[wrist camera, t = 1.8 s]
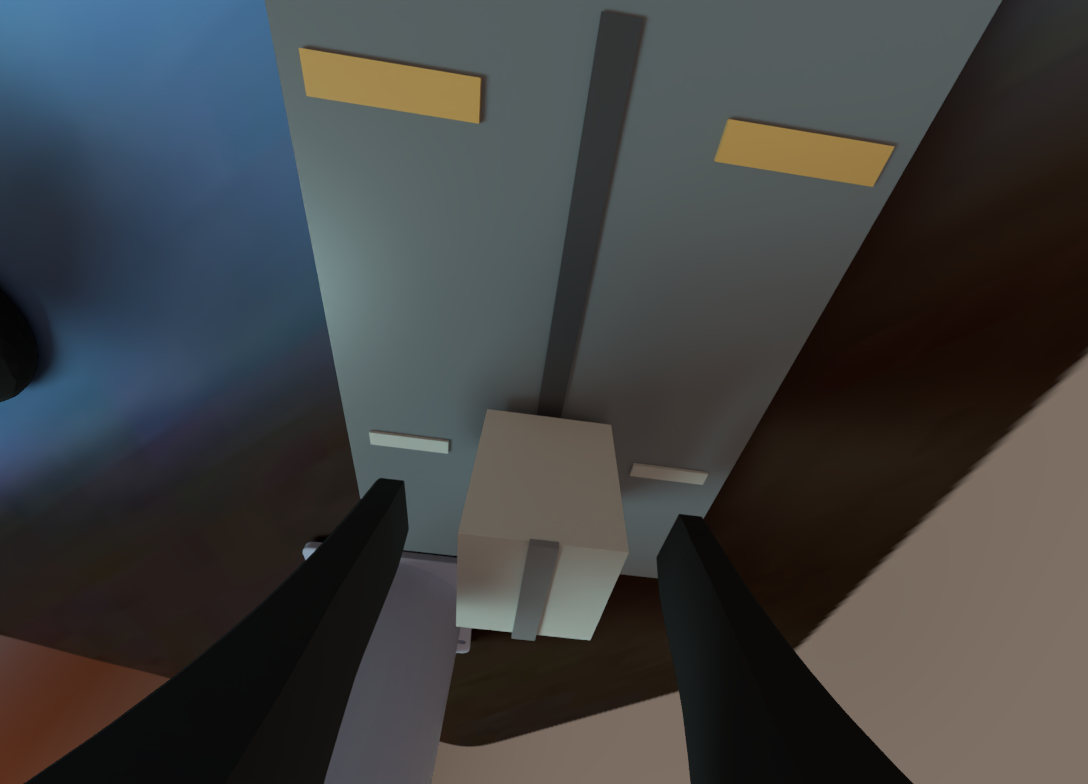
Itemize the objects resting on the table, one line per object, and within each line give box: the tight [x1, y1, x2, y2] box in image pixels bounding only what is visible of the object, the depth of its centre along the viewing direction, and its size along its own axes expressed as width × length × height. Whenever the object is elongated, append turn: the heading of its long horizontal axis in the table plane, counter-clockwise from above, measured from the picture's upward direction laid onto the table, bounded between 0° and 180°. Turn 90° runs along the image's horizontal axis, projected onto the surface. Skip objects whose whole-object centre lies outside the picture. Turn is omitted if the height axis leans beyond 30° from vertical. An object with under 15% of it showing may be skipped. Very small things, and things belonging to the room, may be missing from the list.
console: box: [265, 0, 1002, 578], centre depth 12 cm, size 18×12×2 cm, turn 172°
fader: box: [456, 409, 629, 641], centre depth 11 cm, size 4×4×4 cm
